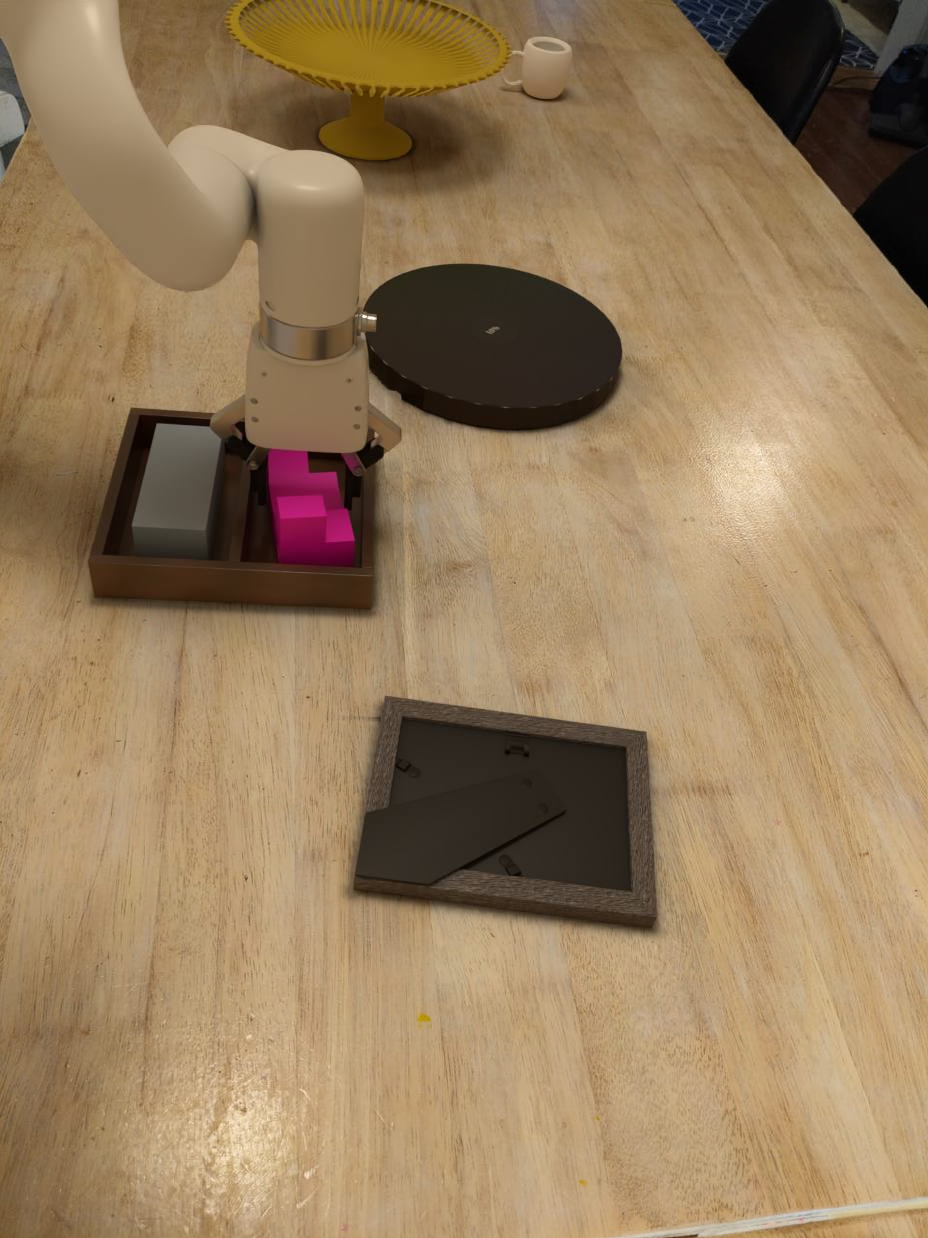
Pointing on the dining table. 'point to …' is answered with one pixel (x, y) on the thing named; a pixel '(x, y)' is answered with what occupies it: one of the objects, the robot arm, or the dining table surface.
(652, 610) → the dining table surface
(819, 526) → the dining table surface
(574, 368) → the disc
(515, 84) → the mug
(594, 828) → the picture frame
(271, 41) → the yellow pedestal bowl
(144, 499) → the gray rectangular block
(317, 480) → the toy block
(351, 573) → the divided tray
